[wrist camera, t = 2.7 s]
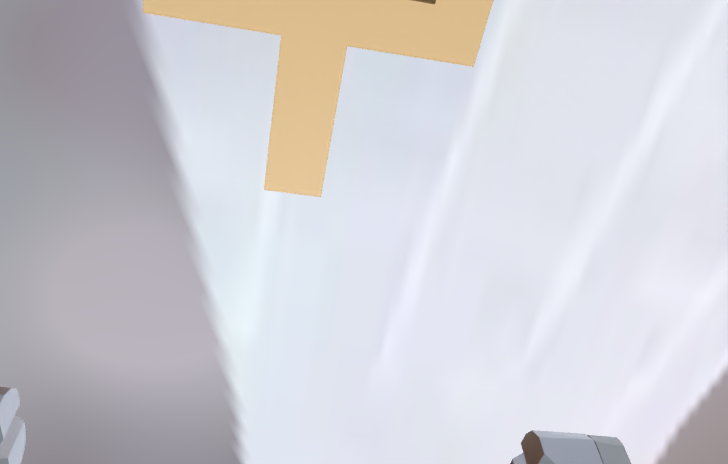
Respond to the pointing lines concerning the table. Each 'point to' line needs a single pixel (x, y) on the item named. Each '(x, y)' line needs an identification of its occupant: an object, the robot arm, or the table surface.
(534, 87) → the table surface
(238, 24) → the tan rectangular frame
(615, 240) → the table surface
